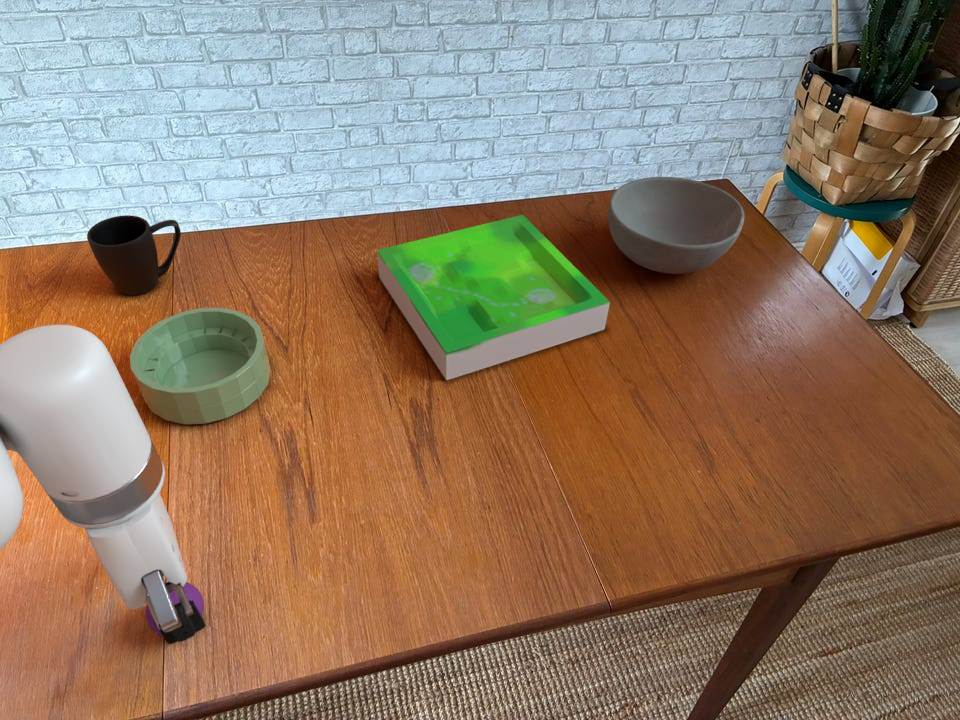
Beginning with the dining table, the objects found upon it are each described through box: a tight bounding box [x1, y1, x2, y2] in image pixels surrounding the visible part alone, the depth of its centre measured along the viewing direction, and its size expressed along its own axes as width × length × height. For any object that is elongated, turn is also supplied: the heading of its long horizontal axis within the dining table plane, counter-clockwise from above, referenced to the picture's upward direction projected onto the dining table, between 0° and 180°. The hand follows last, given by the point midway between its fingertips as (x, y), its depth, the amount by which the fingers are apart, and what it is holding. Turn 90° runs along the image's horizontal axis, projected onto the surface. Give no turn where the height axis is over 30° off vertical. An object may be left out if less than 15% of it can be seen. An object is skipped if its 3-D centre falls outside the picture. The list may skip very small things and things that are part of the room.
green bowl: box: [129, 307, 272, 425], centre depth 89 cm, size 16×16×6 cm
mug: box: [86, 214, 182, 297], centre depth 103 cm, size 8×12×10 cm
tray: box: [376, 214, 611, 381], centre depth 103 cm, size 25×25×5 cm
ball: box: [145, 581, 205, 638], centre depth 66 cm, size 5×5×5 cm
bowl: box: [607, 176, 745, 275], centre depth 111 cm, size 20×20×10 cm
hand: (172, 588), depth 64 cm, fingers open, 9 cm apart
